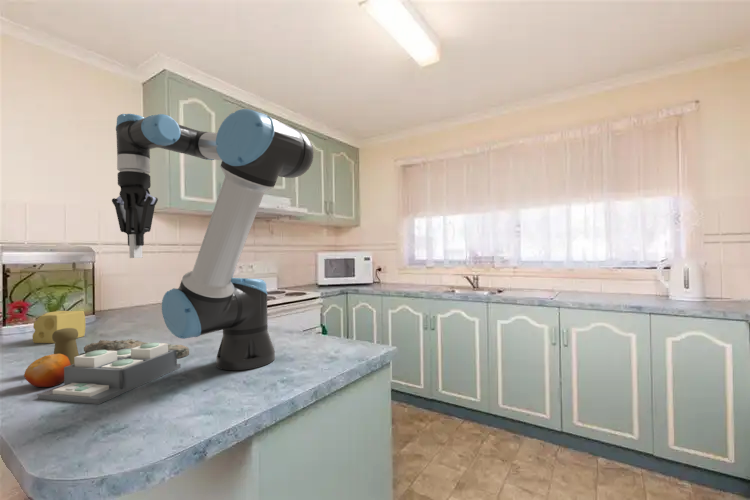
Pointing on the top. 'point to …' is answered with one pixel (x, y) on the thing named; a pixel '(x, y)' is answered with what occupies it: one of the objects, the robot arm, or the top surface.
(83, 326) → the cheese
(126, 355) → the button
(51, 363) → the fruit
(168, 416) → the top surface
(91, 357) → the button
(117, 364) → the button
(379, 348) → the top surface
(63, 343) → the cork
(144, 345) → the button
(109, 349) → the elongated rock
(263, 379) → the top surface
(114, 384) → the button panel
